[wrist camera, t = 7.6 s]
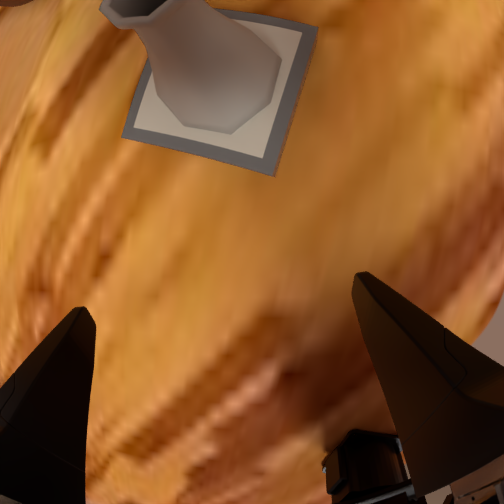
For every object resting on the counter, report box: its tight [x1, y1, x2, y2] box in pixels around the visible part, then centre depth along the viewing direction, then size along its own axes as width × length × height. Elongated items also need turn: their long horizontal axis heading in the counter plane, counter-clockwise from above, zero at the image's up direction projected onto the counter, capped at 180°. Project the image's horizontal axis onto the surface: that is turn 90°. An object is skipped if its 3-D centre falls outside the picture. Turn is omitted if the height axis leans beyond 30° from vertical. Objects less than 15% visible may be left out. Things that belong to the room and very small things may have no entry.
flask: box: [99, 0, 282, 135], centre depth 11 cm, size 7×7×10 cm
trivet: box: [121, 8, 318, 177], centre depth 17 cm, size 10×10×3 cm
